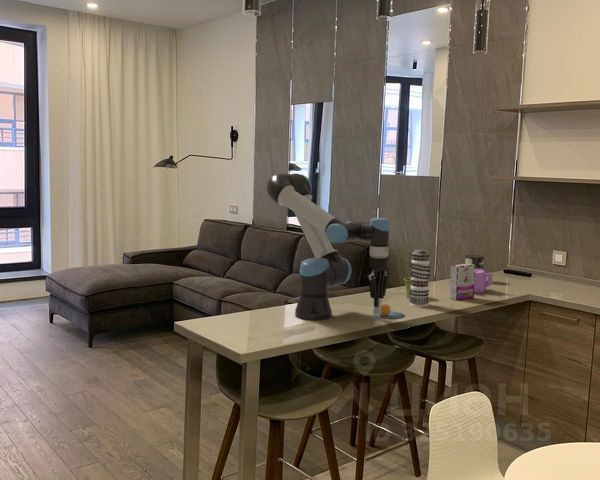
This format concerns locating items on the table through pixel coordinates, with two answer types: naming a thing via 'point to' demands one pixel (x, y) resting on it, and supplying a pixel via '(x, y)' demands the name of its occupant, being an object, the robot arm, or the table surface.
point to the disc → (392, 315)
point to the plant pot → (408, 286)
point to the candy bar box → (462, 281)
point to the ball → (385, 309)
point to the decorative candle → (419, 278)
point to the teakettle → (481, 281)
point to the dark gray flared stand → (475, 261)
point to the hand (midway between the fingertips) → (377, 314)
